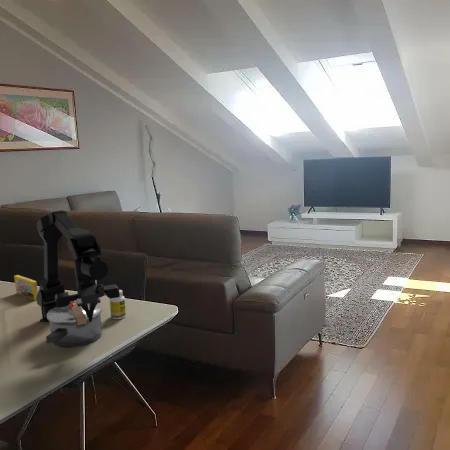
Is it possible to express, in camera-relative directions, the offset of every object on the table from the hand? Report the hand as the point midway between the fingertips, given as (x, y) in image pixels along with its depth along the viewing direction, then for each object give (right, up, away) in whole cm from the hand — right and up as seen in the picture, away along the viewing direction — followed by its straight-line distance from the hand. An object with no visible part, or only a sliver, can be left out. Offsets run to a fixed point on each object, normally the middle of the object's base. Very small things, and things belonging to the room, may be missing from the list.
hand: (90, 321), depth 146 cm
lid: (-7, +1, +7) cm, 10 cm away
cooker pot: (-8, -7, +8) cm, 13 cm away
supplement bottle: (+3, -4, +27) cm, 27 cm away
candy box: (-42, -1, +54) cm, 68 cm away
